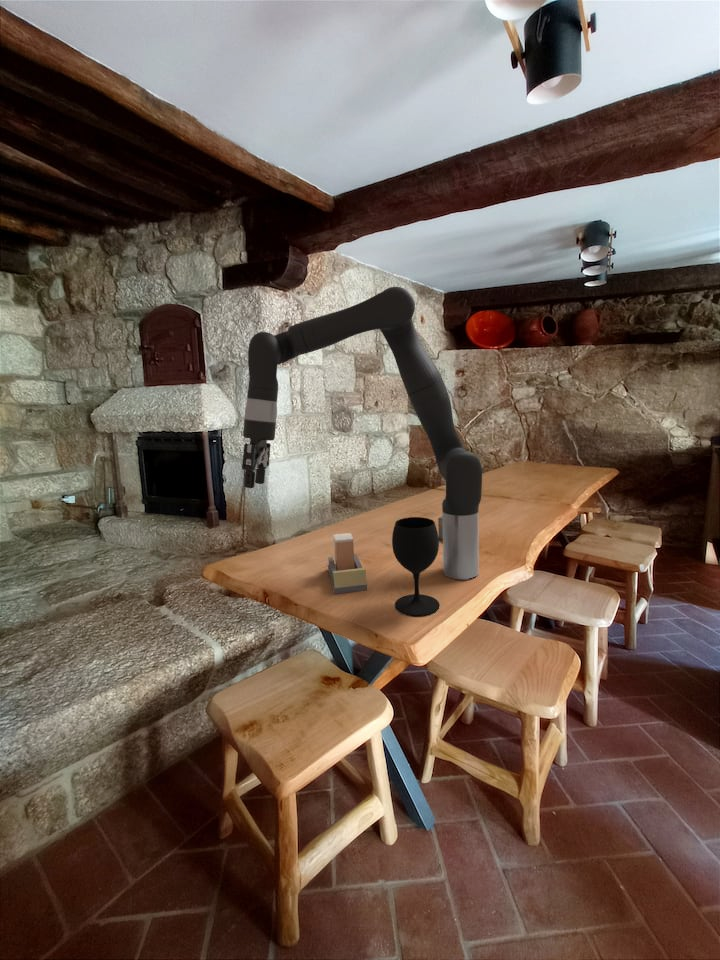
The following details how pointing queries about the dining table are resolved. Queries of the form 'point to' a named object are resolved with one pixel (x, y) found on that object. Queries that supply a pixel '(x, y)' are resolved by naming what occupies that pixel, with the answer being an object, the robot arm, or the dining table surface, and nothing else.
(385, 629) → the dining table surface
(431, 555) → the wine glass
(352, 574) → the key track
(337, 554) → the block
